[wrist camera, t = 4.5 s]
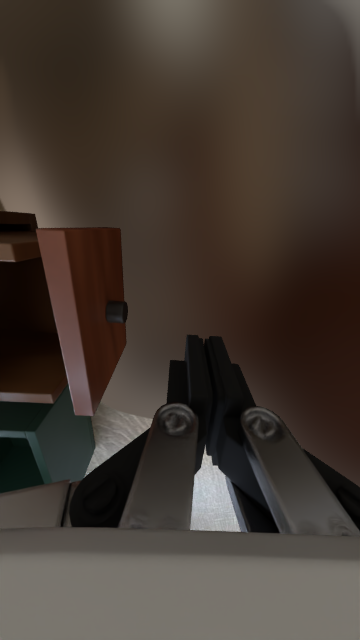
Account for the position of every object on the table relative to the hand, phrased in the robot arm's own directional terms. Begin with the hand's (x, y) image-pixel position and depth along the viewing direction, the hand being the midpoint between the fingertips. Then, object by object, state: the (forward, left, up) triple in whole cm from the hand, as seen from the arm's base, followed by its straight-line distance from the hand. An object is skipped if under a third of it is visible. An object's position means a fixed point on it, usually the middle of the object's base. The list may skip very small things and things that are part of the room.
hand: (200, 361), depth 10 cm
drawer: (0, -12, -10) cm, 15 cm away
